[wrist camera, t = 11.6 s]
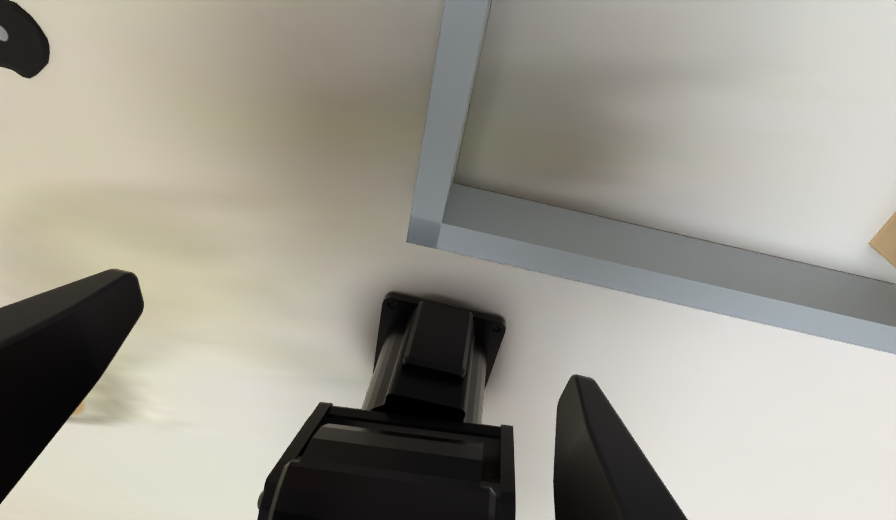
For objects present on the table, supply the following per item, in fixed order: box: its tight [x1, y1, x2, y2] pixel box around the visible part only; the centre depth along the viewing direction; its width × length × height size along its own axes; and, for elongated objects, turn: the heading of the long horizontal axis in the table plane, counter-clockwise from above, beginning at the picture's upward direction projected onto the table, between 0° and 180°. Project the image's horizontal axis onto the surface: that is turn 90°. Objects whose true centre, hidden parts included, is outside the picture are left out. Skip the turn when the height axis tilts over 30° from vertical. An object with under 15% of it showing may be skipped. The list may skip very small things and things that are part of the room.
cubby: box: [406, 0, 896, 354], centre depth 15 cm, size 16×22×4 cm
